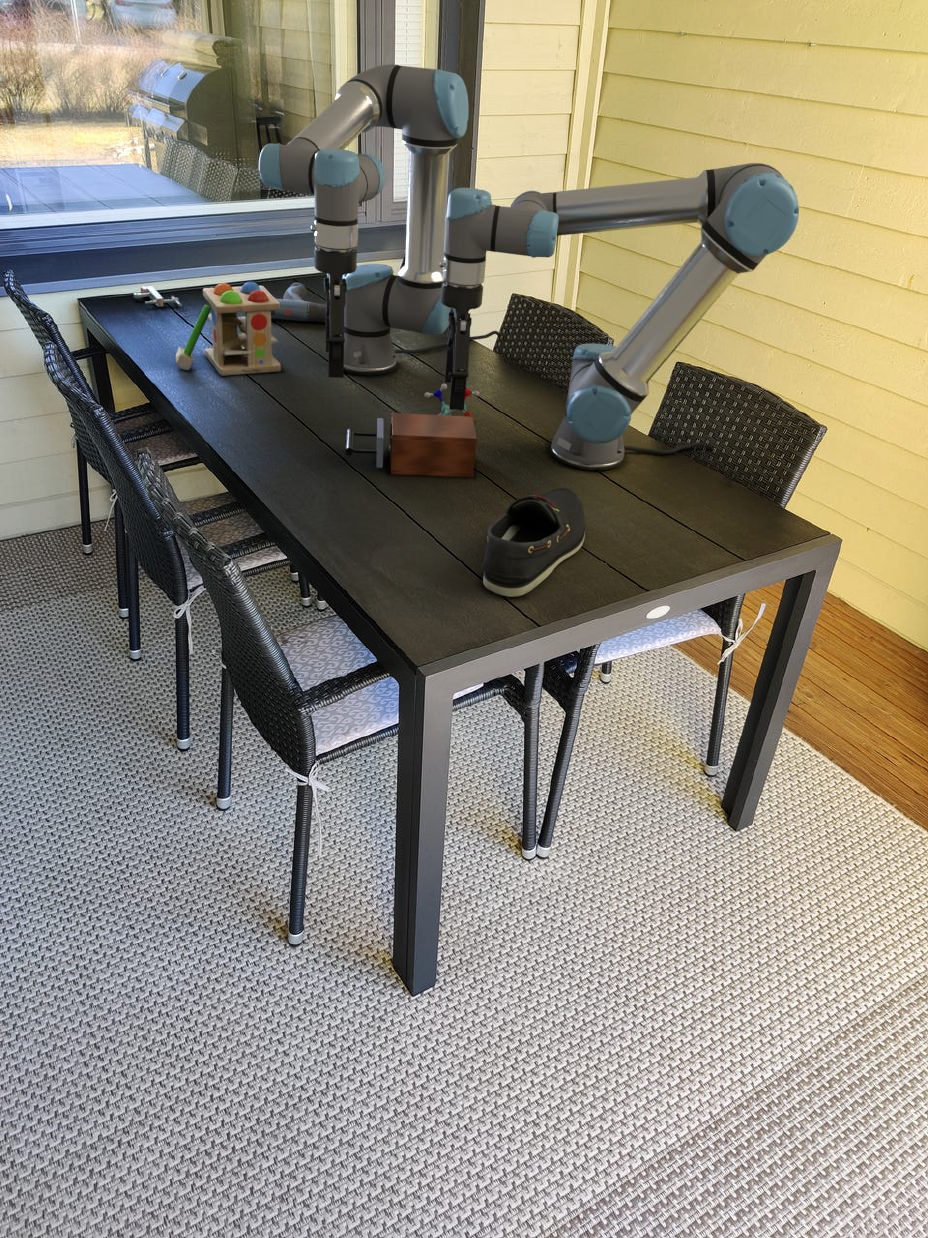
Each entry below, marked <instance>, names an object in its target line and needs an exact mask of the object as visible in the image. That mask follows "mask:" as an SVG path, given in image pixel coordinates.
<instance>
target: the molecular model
mask: <svg viewBox="0 0 928 1238" xmlns="http://www.w3.org/2000/svg"><path fill="white" fill-rule="evenodd" d="M447 388H448V385H447V384H446V383H442V384H441V385H440V388H439V389H436V390H435V391H434V392H428V391H427V392H425V393H424V398H425V399H430V397H435V398H436V399H438V400H439V402H440V403H441V412H440V413H438V414H437V415H447V416H452V413H453V412H456V410H449V405H448V404H445V401H444V399H443V397H442V396H443V391H445V390H446V389H447ZM470 395H471V396H472V395H473V396H474V397H479V396H480V392H479V391H478V390H474V391H471V390H469V389H468V388H466V391H465V401H466V400H467V397H469V396H470ZM458 411H459V412H461V413H462V415H464V416H468V417H473V418H474V415H472V414H470V412H469V410H467V406H466V403H464V410H458Z"/></svg>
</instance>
